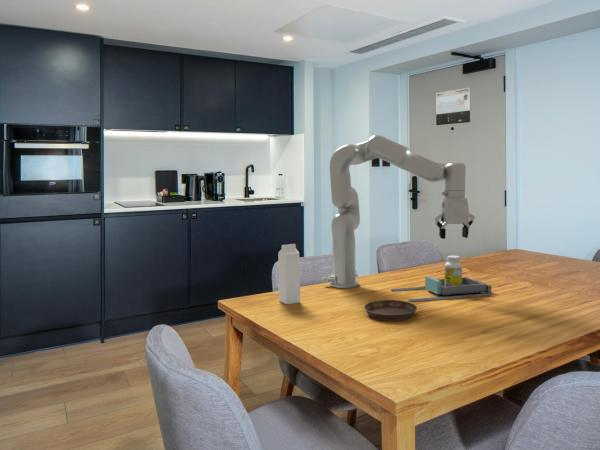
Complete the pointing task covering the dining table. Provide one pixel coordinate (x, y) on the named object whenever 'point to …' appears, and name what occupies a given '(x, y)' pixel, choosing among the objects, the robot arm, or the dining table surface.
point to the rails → (487, 293)
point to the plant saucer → (390, 310)
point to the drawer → (467, 286)
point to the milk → (289, 274)
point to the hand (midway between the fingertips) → (453, 237)
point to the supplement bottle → (453, 272)
